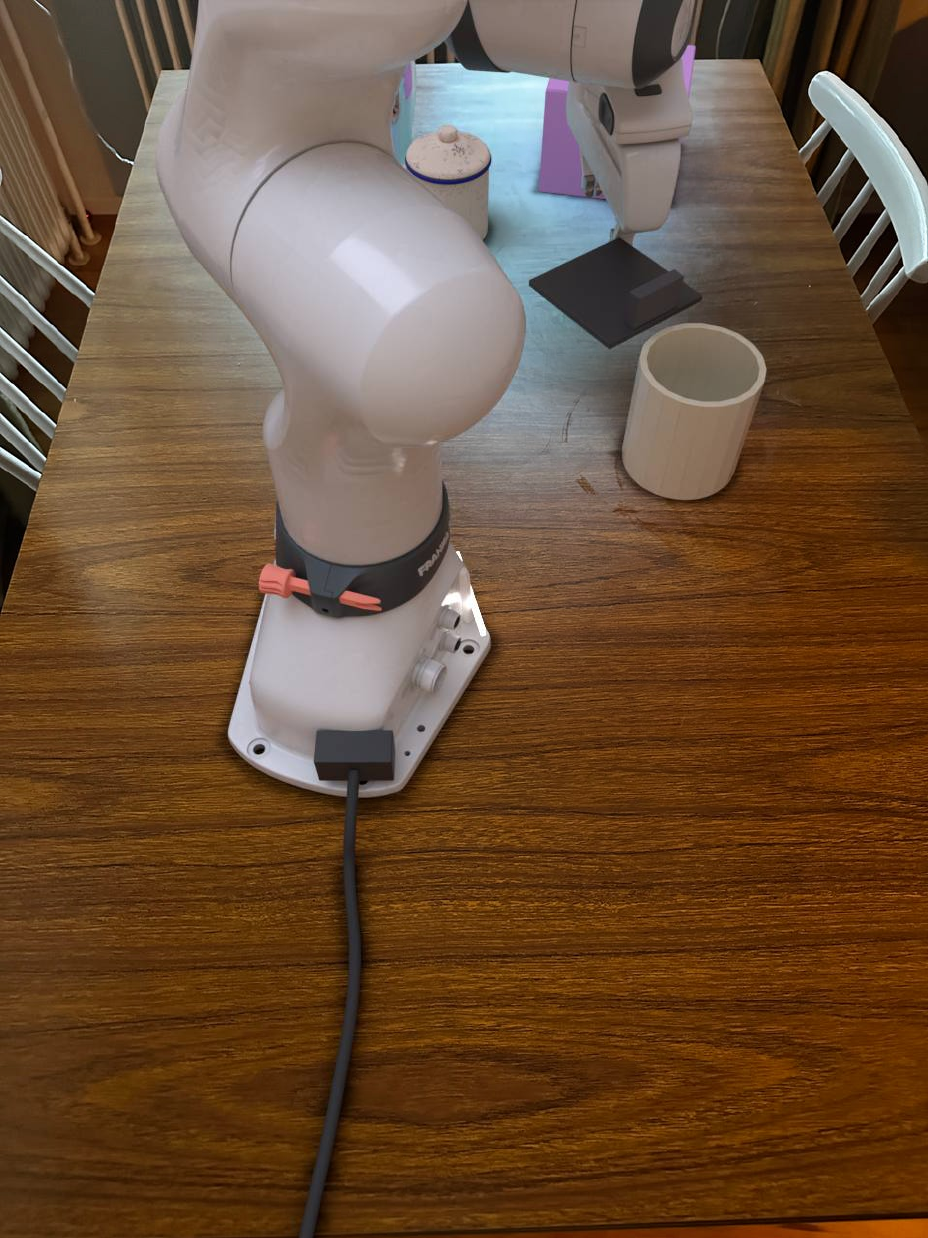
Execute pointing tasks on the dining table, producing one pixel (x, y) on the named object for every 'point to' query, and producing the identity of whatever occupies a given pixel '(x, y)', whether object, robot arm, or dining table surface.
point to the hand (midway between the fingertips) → (604, 220)
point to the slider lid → (615, 292)
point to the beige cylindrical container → (691, 409)
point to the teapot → (573, 138)
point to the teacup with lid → (454, 172)
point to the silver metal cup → (404, 113)
